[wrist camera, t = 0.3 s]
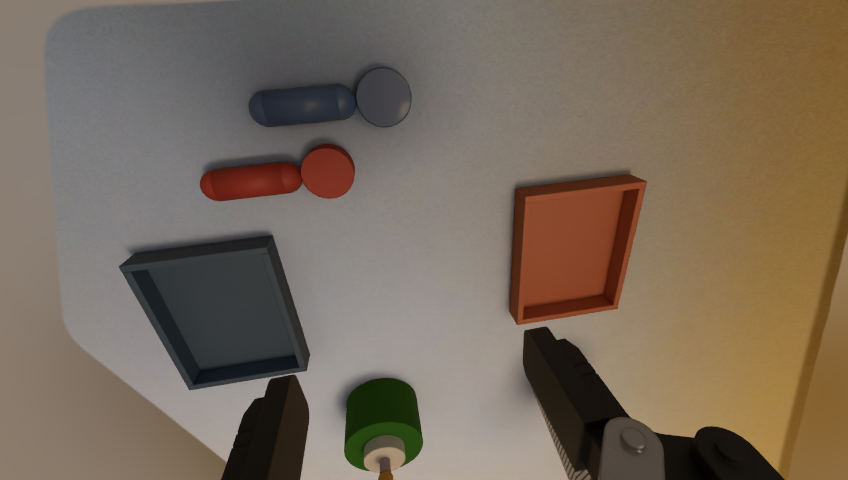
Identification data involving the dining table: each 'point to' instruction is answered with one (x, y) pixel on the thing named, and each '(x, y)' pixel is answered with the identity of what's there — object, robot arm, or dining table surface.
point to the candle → (382, 427)
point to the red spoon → (284, 176)
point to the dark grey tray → (221, 310)
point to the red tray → (572, 246)
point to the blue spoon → (336, 101)
